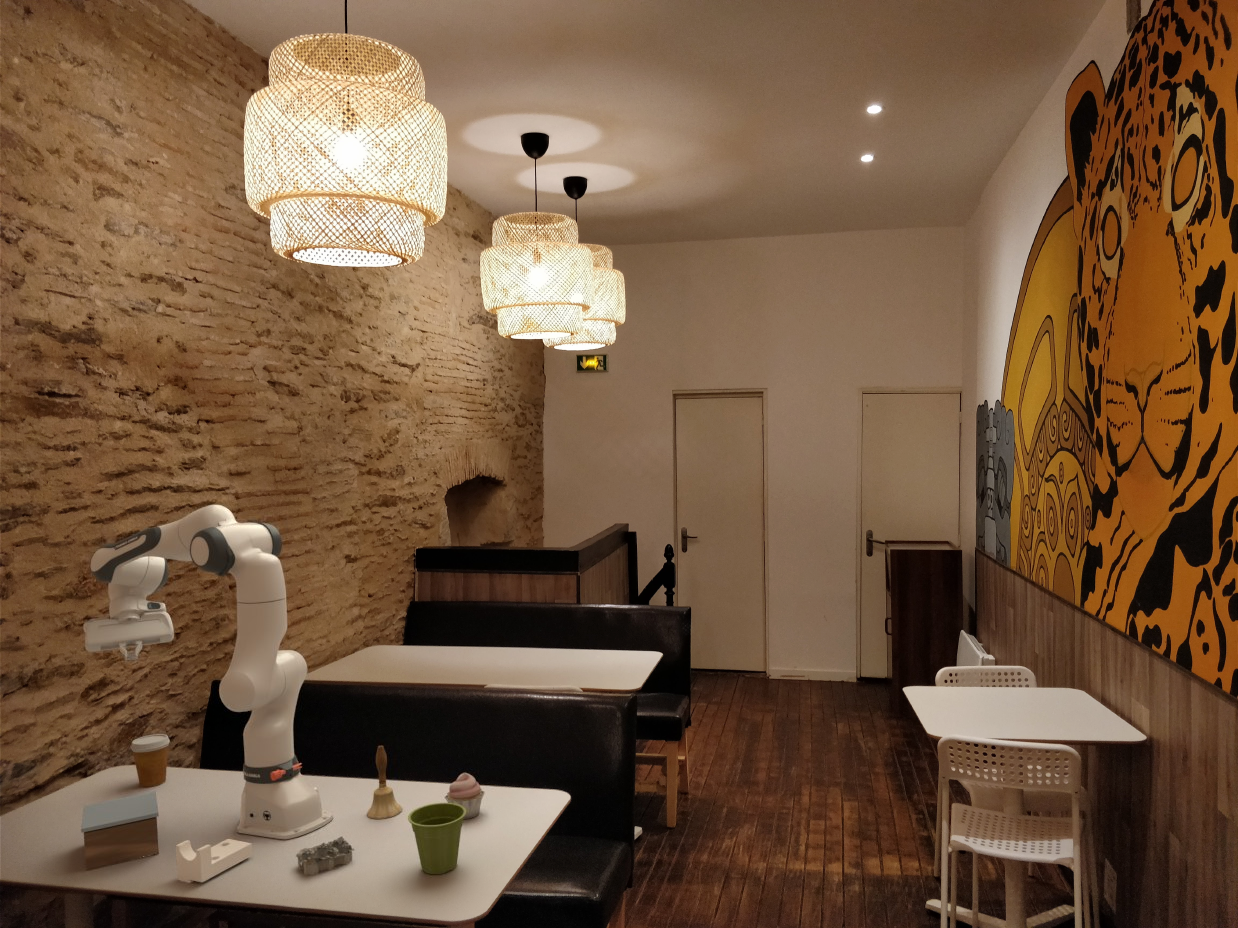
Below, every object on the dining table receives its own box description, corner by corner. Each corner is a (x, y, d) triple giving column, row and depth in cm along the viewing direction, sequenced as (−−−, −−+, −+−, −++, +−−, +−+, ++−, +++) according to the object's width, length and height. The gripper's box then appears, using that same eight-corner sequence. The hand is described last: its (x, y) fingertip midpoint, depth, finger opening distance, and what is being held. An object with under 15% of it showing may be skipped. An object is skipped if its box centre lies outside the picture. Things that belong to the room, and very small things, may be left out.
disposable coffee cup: (179, 779, 251) (176, 736, 250) (145, 791, 243) (142, 746, 242) (159, 774, 256) (156, 731, 256) (125, 786, 248) (122, 741, 247)
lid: (83, 808, 211) (83, 805, 211) (155, 794, 218) (155, 790, 218) (81, 832, 196) (81, 828, 196) (158, 815, 204) (158, 812, 204)
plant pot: (417, 885, 183) (414, 829, 182) (405, 862, 194) (403, 809, 193) (475, 872, 187) (472, 817, 187) (461, 849, 198) (458, 797, 198)
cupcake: (459, 825, 211) (457, 782, 211) (438, 814, 218) (436, 773, 218) (493, 813, 217) (491, 771, 217) (472, 803, 224) (470, 762, 224)
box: (88, 843, 211) (85, 808, 211) (156, 828, 218) (154, 795, 218) (86, 870, 197) (83, 833, 197) (158, 853, 204) (156, 817, 204)
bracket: (202, 886, 187) (200, 850, 187) (178, 881, 191) (175, 845, 190) (252, 859, 199) (250, 824, 199) (229, 854, 202) (227, 820, 202)
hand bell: (359, 814, 220) (355, 748, 220) (387, 802, 227) (383, 738, 227) (381, 821, 215) (377, 754, 215) (409, 809, 222) (405, 744, 222)
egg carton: (305, 879, 189) (304, 859, 189) (294, 866, 195) (293, 847, 195) (356, 862, 195) (355, 843, 195) (344, 851, 201) (343, 832, 201)
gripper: (82, 612, 234) (83, 657, 226) (171, 602, 244) (175, 645, 236) (83, 627, 238) (85, 672, 230) (171, 616, 248) (175, 659, 240)
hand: (131, 658), depth 233 cm, fingers closed
